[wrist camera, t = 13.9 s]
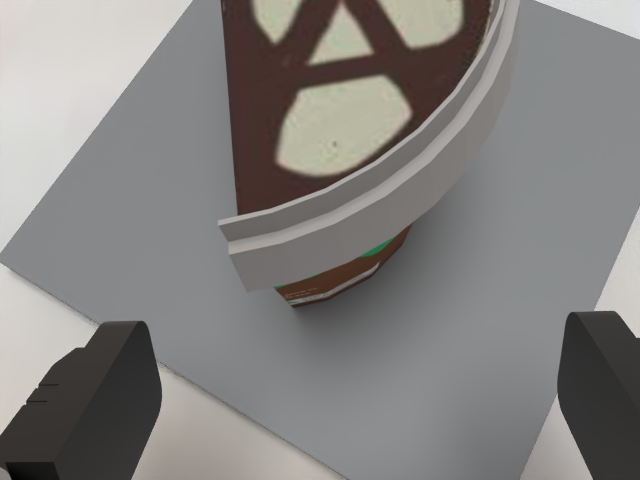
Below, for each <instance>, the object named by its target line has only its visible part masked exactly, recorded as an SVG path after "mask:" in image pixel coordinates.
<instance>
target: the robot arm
mask: <svg viewBox="0 0 640 480" xmlns="http://www.w3.org/2000/svg"><path fill="white" fill-rule="evenodd" d="M557 392H558V399H559V404H560V408H561V411H562V413H563V416H564V418H565V420H566V422H567V424H568V426H569V429H570V431H571V433H572V435H573V437H574V439H575V441H576V444H577V446H578V448H579V450H580V452H581V454H582V456H583V459H584V461H585V463H586V465H587V467H588V469H589V471H590V474H591V476H592V478H593V480H640V338H636V337H635V335H634V334H633V333H632V332H631V330H630V329H629V328H628V326H627V325H626V324H625V322H624V321H623V320H622V318H621V317H620V316H619V315H618V313H616V312H615V311H587V312H571V313H569V315H568V316H567V319H566V323H565V330H564V337H563V344H562V350H561V357H560V364H559V371H558V378H557ZM161 401H162V387H161V381H160V376H159V372H158V367H157V363H156V359H155V354H154V350H153V345H152V341H151V336H150V332H149V329H148V326H147V324H146V323H145V322H144V321H106V322H103V323H102V324H101V325H100V326H99V328H98V329H97V331H96V332H95V333H94V335H93V336H92V338H91V339H90V341H89V342H88V343H87V345H86V346H85V348H75V349H74V350H73V351H71V352H70V353H68V354H67V355H66V356H64V357H63V358H62V359H60V360H59V361H58V362H56V363H55V364H54V365H53V366H52V367H51V368H50V370H49V371H48V372H47V374H46V375H45V377H44V378H43V379H42V381H41V382H40V383H39V387H38V388H36V389H35V390H34V391H33V393H32V394H31V395H30V397H29V398H28V399H27V401H26V405H23V406H22V407H21V409H20V410H19V411H18V413H17V414H16V415H15V417H14V418H13V419H12V421H11V422H10V423H9V425H8V426H7V427H6V429H5V430H4V431H3V433H2V434H1V435H0V480H131V478H132V476H133V474H134V471H135V469H136V467H137V464H138V462H139V460H140V458H141V455H142V453H143V451H144V448H145V446H146V444H147V441H148V439H149V437H150V434H151V432H152V430H153V427H154V425H155V423H156V420H157V418H158V415H159V412H160V408H161Z"/></svg>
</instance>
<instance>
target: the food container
mask: <svg viewBox="0 0 640 480" xmlns="http://www.w3.org/2000/svg"><path fill="white" fill-rule="evenodd" d="M220 2H221V12H222V22H223V34H224V47H225V59H226V72H227V85H228V98H229V112H230V125H231V139H232V153H233V166H234V178H235V190H236V202H237V214H238V216H235V217H231V218H226V219H222V220H218V226H219V228H220V229H221V231H222V233H223V234H224V236H225V237H226V239H227V241H228V249H229V256H230V258H231V260H232V262H233V264H234V266H235V268H236V270H237V273H238V275H239V277H240V279H241V281H242V283H243V285H244V287H245V289H246V291H247V293H248V292H253V291H257V290H262V289H267V288H271V287H273V288H274V289H275V290H276V291H277V292H278V293H279V294H280V295H281V296H282V297H283V298H284V299H285V300H286V302H287V303H288V304H289V305H290V306H291V307H292V308H296V307H300V306H305V305H309V304H314V303H318V302H323V301H327V300H330V299H332V298H334V297H335V296H337V295H339V294H341V293H343V292H345V291H347V290H349V289H351V288H352V287H354V286H356V285H358V284H360V283H362V282H364V281H366V280H368V279H369V278H371V277H372V276H373V275H374V274H375V273H376V272H377V271H378V270H379V269H380V268H381V267H382V266H383V265H384V264H385V263H386V262H387V261H388V259H389V258H390V257H391V256H392V255H393V254H394V253H395V252H396V251H397V250H398V249H399V248H400V247H401V246H402V245H403V243H404V241H405V239H406V236H407V234H408V232H409V230H410V228H411V226H412V224H413V222H414V221H415V220H416V219H417V218H419V217H420V216H421V215H423V214H424V213H425V212H426V211H428V210H429V209H430V208H431V207H433V206H434V205H435V204H436V203H437V202H438V201H439V200H440V199H441V198H442V196H443V195H444V194H445V193H446V192H447V191H448V190H449V189H450V188H451V187H452V186H453V184H454V183H455V182H456V181H457V180H458V179H459V178H460V177H461V176H462V175H463V174H464V173H465V171H466V170H467V169H468V168H469V166H470V165H471V163H472V162H473V160H474V159H475V157H476V155H477V154H478V152H479V151H480V149H481V148H482V146H483V145H484V143H485V142H486V140H487V138H488V137H489V135H490V134H491V132H492V131H493V129H494V126H495V124H496V121H497V119H498V117H499V114H500V112H501V109H502V107H503V105H504V102H505V100H506V97H507V95H508V93H509V90H510V86H511V81H512V76H513V71H514V66H515V62H516V57H517V52H518V36H519V13H520V0H220Z"/></svg>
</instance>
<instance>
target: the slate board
mask: <svg viewBox="0 0 640 480" xmlns="http://www.w3.org/2000/svg"><path fill="white" fill-rule="evenodd" d="M639 206H640V40H639V39H636V38H633V37H631V36H628V35H625V34H623V33H620V32H617V31H615V30H612V29H609V28H607V27H604V26H601V25H599V24H596V23H593V22H590V21H588V20H585V19H582V18H580V17H577V16H574V15H572V14H569V13H566V12H564V11H561V10H558V9H556V8H553V7H550V6H548V5H545V4H542V3H540V2H537V1H534V0H520V13H519V36H518V52H517V57H516V62H515V66H514V71H513V76H512V81H511V86H510V90H509V93H508V95H507V97H506V100H505V102H504V105H503V107H502V109H501V112H500V114H499V117H498V119H497V121H496V124H495V126H494V129H493V131H492V132H491V134H490V135H489V137H488V138H487V140H486V142H485V143H484V145H483V146H482V148H481V149H480V151H479V152H478V154H477V155H476V157H475V159H474V160H473V162H472V163H471V165H470V166H469V168H468V169H467V170H466V171H465V173H464V174H463V175H462V176H461V177H460V178H459V179H458V180H457V181H456V182H455V183H454V184H453V186H452V187H451V188H450V189H449V190H448V191H447V192H446V193H445V194H444V195H443V196H442V198H441V199H440V200H439V201H438V202H437V203H436V204H435V205H434V206H433V207H431V208H430V209H429V210H428V211H426V212H425V213H424V214H423V215H421V216H420V217H419V218H417V219H416V220H415V221H414V222H413V224H412V226H411V228H410V230H409V232H408V234H407V236H406V239H405V241H404V243H403V245H402V246H401V247H400V248H399V249H398V250H397V251H396V252H395V253H394V254H393V255H392V256H391V257H390V258H389V259H388V261H387V262H386V263H385V264H384V265H383V266H382V267H381V268H380V269H379V270H378V271H377V272H376V273H375V274H374V275H373V276H372V277H371V278H369V279H368V280H366V281H364V282H362V283H360V284H358V285H356V286H354V287H352V288H351V289H349V290H347V291H345V292H343V293H341V294H339V295H337V296H335V297H334V298H332V299H330V300H327V301H323V302H318V303H314V304H309V305H305V306H300V307H296V308H292V307H291V306H290V305H289V304H288V303H287V302H286V300H285V299H284V298H283V297H282V296H281V295H280V294H279V293H278V292H277V291H276V290H275V289H274V288H273V287H271V288H267V289H262V290H257V291H253V292H248V293H247V291H246V289H245V287H244V285H243V283H242V281H241V279H240V277H239V275H238V273H237V270H236V268H235V266H234V264H233V262H232V260H231V258H230V256H229V249H228V241H227V239H226V237H225V236H224V234H223V233H222V231H221V229H220V228H219V226H218V220H222V219H226V218H231V217H235V216H238V214H237V202H236V190H235V178H234V166H233V153H232V139H231V125H230V112H229V98H228V85H227V72H226V59H225V47H224V34H223V22H222V12H221V2H220V0H193V1H192V3H191V4H190V5H189V7H188V8H187V9H186V10H185V12H184V13H183V14H182V16H181V17H180V18H179V20H178V21H177V22H176V24H175V25H174V26H173V27H172V29H171V30H170V31H169V33H168V34H167V35H166V37H165V38H164V39H163V41H162V42H161V43H160V45H159V46H158V47H157V48H156V50H155V51H154V52H153V54H152V55H151V56H150V58H149V59H148V60H147V62H146V63H145V64H144V66H143V67H142V68H141V69H140V71H139V72H138V73H137V75H136V76H135V77H134V79H133V80H132V81H131V83H130V84H129V85H128V87H127V88H126V89H125V90H124V92H123V93H122V94H121V96H120V97H119V98H118V100H117V101H116V102H115V104H114V105H113V106H112V108H111V109H110V110H109V111H108V113H107V114H106V115H105V117H104V118H103V119H102V121H101V122H100V123H99V125H98V126H97V127H96V129H95V130H94V131H93V132H92V134H91V135H90V136H89V138H88V139H87V140H86V142H85V143H84V144H83V146H82V147H81V148H80V150H79V151H78V152H77V153H76V155H75V156H74V157H73V159H72V160H71V161H70V163H69V164H68V165H67V167H66V168H65V169H64V171H63V172H62V173H61V174H60V176H59V177H58V178H57V180H56V181H55V182H54V184H53V185H52V186H51V188H50V189H49V190H48V191H47V193H46V194H45V195H44V197H43V198H42V199H41V201H40V202H39V203H38V205H37V206H36V207H35V209H34V210H33V211H32V212H31V214H30V215H29V216H28V218H27V219H26V220H25V222H24V223H23V224H22V226H21V227H20V228H19V230H18V231H17V232H16V233H15V235H14V236H13V237H12V239H11V240H10V241H9V243H8V244H7V245H6V247H5V248H4V249H3V251H2V252H1V253H0V263H2V264H3V265H5V266H6V267H8V268H10V269H11V270H13V271H15V272H16V273H18V274H19V275H21V276H23V277H24V278H26V279H27V280H29V281H31V282H32V283H34V284H35V285H37V286H39V287H40V288H42V289H43V290H45V291H47V292H48V293H50V294H51V295H53V296H55V297H56V298H58V299H60V300H61V301H63V302H64V303H66V304H68V305H69V306H71V307H72V308H74V309H76V310H77V311H79V312H80V313H82V314H84V315H85V316H87V317H88V318H90V319H92V320H93V321H95V322H96V323H98V324H100V325H101V324H102V323H103V322H106V321H144V322H145V323H146V324H147V326H148V329H149V332H150V336H151V341H152V345H153V350H154V354H155V359H156V360H157V361H159V362H161V363H162V364H164V365H166V366H167V367H169V368H170V369H172V370H174V371H175V372H177V373H178V374H180V375H182V376H183V377H185V378H186V379H188V380H190V381H191V382H193V383H194V384H196V385H198V386H199V387H201V388H202V389H204V390H206V391H207V392H209V393H211V394H212V395H214V396H215V397H217V398H219V399H220V400H222V401H223V402H225V403H227V404H228V405H230V406H231V407H233V408H235V409H236V410H238V411H239V412H241V413H243V414H244V415H246V416H247V417H249V418H251V419H252V420H254V421H255V422H257V423H259V424H260V425H262V426H264V427H265V428H267V429H268V430H270V431H272V432H273V433H275V434H276V435H278V436H280V437H281V438H283V439H284V440H286V441H288V442H289V443H291V444H292V445H294V446H296V447H297V448H299V449H300V450H302V451H304V452H305V453H307V454H309V455H310V456H312V457H313V458H315V459H317V460H318V461H320V462H321V463H323V464H325V465H326V466H328V467H329V468H331V469H333V470H334V471H336V472H337V473H339V474H341V475H342V476H344V477H345V478H347V479H349V480H519V479H520V476H521V474H522V472H523V470H524V467H525V465H526V463H527V461H528V458H529V456H530V454H531V451H532V449H533V447H534V445H535V442H536V440H537V438H538V436H539V433H540V431H541V429H542V426H543V424H544V422H545V420H546V417H547V415H548V413H549V411H550V408H551V406H552V404H553V402H554V399H555V397H556V395H557V378H558V371H559V364H560V357H561V350H562V344H563V337H564V330H565V323H566V319H567V316H568V315H569V313H571V312H587V311H594V308H595V306H596V304H597V302H598V299H599V297H600V295H601V293H602V290H603V288H604V286H605V283H606V281H607V279H608V277H609V274H610V272H611V270H612V268H613V265H614V263H615V261H616V258H617V256H618V254H619V252H620V249H621V247H622V245H623V243H624V240H625V238H626V236H627V234H628V231H629V229H630V227H631V224H632V222H633V220H634V218H635V215H636V213H637V211H638V209H639Z"/></svg>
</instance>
